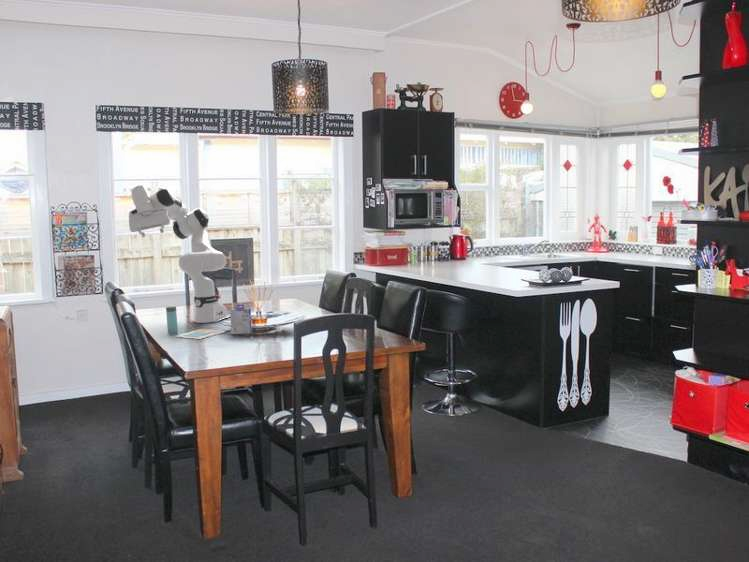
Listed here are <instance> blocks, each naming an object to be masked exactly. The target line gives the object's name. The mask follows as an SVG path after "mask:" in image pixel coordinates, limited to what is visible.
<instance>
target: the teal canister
mask: <svg viewBox="0 0 749 562" xmlns="http://www.w3.org/2000/svg"><path fill="white" fill-rule="evenodd" d="M165 312H166V325H167V326H166V327H167V335H168V334H175V335H178V334H179V330H178V329H179V328H178V314H177V306H175V305H174V306H173V305H171V306H166V307H165ZM177 333H178V334H177Z"/></svg>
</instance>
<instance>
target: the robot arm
mask: <svg viewBox="0 0 749 562" xmlns="http://www.w3.org/2000/svg"><path fill="white" fill-rule="evenodd" d="M131 198H132V202H133V204H134V206H135V209H133V210H131V211H129V212H128V225H129V231H130V232H132V233H135V232H138V233H139V234H140V235H141V237H142V238H145V237H146V234H145V232H143V231H144V230H149V229H154V228H159V227H160V228H159V232H160V234H163V233H164V228H165V226H168V225H170V223H171V221H172V223H173V225H172V230H173V231H172V232H173V233H174V235H175V236H176V237H177V238H178V239H181V240H185V239H187V238H189V237H190V236H191V242H190V244H191V246H190V247H191V251H190V252H186V253H183V254H181V255H180V256H179V258H178V266H179V269H180V270H181V271H182V272H184V273H185V274H186V275H188V276H189V278H190V279H191V281H192V283H193V284H192V285H193V290H194V297H193V301H194V312H193V313H194V315H193V320H192V321H193V322H194V323H197V324H202V323H203V324H204V323H205V324H206V323H218V321H219V320H220V319H222V318H225V317H227V316H230V314H228V309H227V306H225V305H224V304H222V303H221V302H219V300H218V299H221V295H220V294H217V295H216V291H215V282H214V280H213V279H211V278H209V277H207V276H204V274H203V273H202V272H214V271H218V270H219V271H220V270H223V269H224V268H225V267H226V264H227V258H226V256H225V254H224V253H223V252H222V251H218V250H216V249H215V248H213V247H212V241H211V238H210V235H209V233H208V231H207V230H206V229H207V228H208V227H209V221H210V219H209V215H208V213H207V212H206V211H205V210H204V209H203V208H202V207H197V208H195V209H193V210H192V211H191V212H189V210H188V206H186V205H185V204H184V203H183V201H182V200H181V198H180V197H178V196H177V195H176V194H175V193H173V192H172V191H171V190H170V189H168V188H165V187H162V188H161V189H159V190H158V191H157V192H154V193H153V194H151V195H150V193H149V191H148V189H147V187H146V186H145V185H144V184H143V185H142V184H140V185H137V186H135V187H134V188H132V189H131ZM188 212H189V213H188ZM219 322H220V321H219Z"/></svg>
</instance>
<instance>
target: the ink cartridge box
mask: <svg viewBox="0 0 749 562" xmlns="http://www.w3.org/2000/svg"><path fill="white" fill-rule="evenodd" d="M229 315H230V318H229V319H230V331H231V333H230V335H240V334H241V335H243V334H247V335H248V334H251V333H253V330H252V329H253V328H251V326H252V312H251V308H245V304H236V309H230V311H229Z"/></svg>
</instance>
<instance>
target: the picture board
mask: <svg viewBox="0 0 749 562" xmlns="http://www.w3.org/2000/svg"><path fill="white" fill-rule="evenodd" d="M225 333H226V330H219V329H217V330H215V329H206V328H205V329H204V328H199V329H196V330H192V331H188V332H184V333H181V334H176V335H173V336H174V338H176V337H183V338H182V339H186V338H194V339H193V340H196V339H201V340H203V339H202V338H204V339H207V338H206V337H208V338H211V337H214V335H215V336H218V335H220V334H225ZM210 336H211V337H210Z"/></svg>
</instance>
